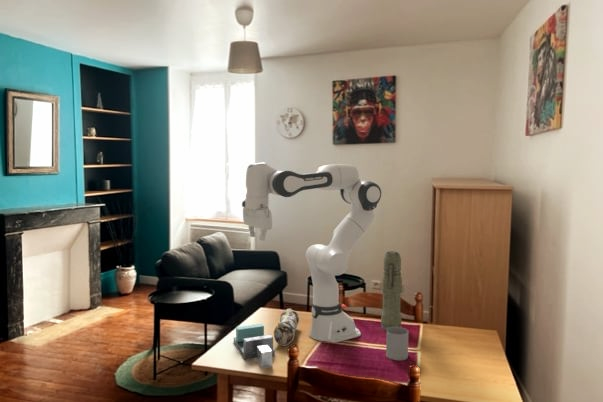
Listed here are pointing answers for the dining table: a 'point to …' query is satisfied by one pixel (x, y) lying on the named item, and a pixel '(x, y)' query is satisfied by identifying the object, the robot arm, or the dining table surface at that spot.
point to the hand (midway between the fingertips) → (257, 238)
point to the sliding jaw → (249, 331)
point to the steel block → (264, 356)
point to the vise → (253, 345)
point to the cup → (397, 343)
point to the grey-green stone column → (391, 291)
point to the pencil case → (286, 327)
